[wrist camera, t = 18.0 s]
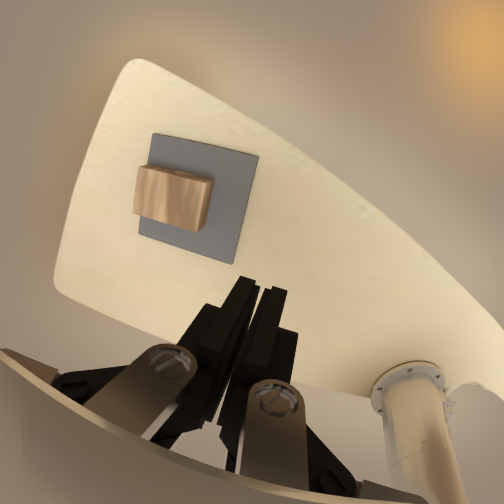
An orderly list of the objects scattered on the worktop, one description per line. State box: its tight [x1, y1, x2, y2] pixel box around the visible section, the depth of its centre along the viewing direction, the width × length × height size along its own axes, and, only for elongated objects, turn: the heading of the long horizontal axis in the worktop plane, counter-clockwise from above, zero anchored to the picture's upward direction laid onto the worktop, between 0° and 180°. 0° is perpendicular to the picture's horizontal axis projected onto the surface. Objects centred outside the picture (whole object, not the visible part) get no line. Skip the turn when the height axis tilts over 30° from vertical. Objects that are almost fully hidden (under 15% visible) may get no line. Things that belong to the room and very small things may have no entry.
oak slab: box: [133, 164, 215, 233], centre depth 37 cm, size 3×6×9 cm
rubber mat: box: [138, 134, 259, 265], centre depth 39 cm, size 14×14×1 cm
